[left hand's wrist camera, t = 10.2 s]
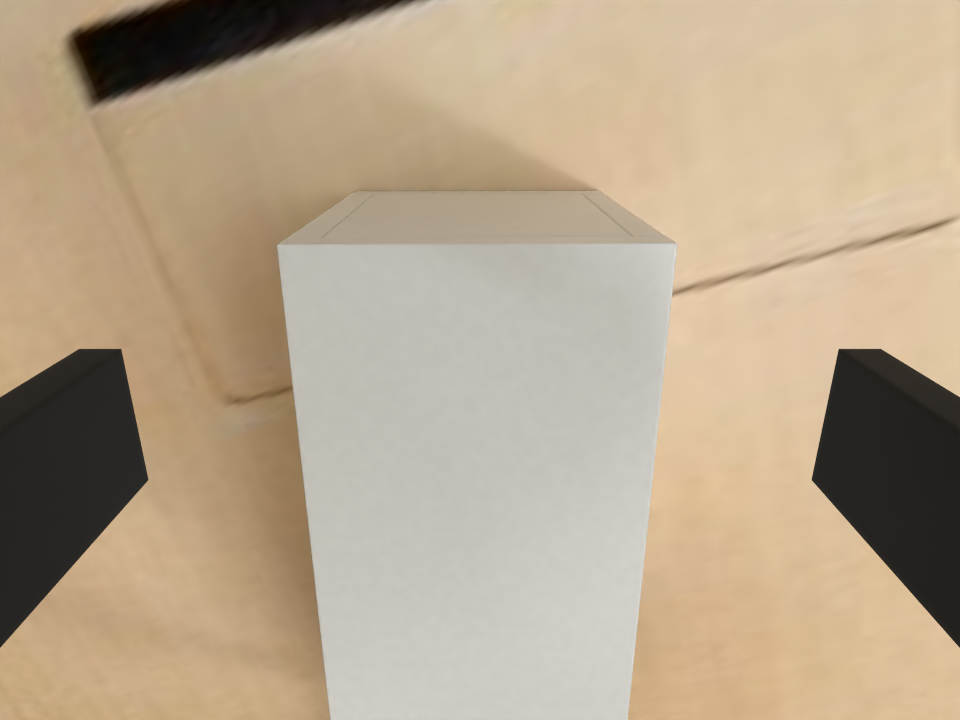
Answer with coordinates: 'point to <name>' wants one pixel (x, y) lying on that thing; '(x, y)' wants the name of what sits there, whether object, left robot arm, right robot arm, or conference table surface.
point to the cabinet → (477, 446)
